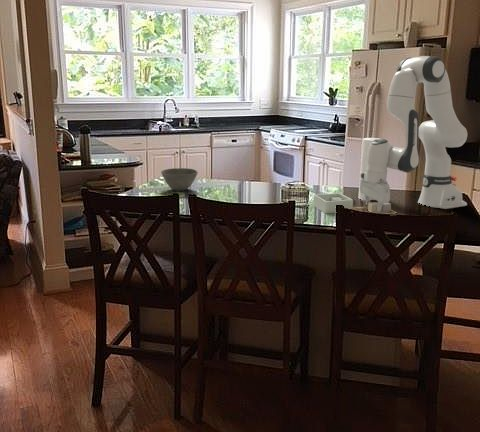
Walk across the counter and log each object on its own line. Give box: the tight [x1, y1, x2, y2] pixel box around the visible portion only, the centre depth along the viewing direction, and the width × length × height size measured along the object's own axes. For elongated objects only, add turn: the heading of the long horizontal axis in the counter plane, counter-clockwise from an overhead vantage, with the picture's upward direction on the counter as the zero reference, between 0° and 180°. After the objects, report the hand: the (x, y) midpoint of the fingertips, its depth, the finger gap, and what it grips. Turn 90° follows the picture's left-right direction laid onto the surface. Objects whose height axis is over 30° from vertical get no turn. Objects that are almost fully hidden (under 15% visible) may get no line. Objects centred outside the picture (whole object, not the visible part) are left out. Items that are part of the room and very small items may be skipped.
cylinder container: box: [357, 137, 380, 201], centre depth 251 cm, size 9×9×30 cm
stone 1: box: [331, 197, 342, 201], centre depth 238 cm, size 4×4×4 cm
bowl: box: [160, 167, 199, 192], centre depth 269 cm, size 19×19×10 cm
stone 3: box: [380, 202, 392, 212], centre depth 230 cm, size 4×4×4 cm
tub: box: [312, 192, 354, 214], centre depth 235 cm, size 13×13×6 cm
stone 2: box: [367, 201, 380, 212], centre depth 229 cm, size 4×4×4 cm
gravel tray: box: [353, 206, 398, 214], centre depth 229 cm, size 16×12×2 cm
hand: (373, 207), depth 229 cm, fingers open, 8 cm apart
